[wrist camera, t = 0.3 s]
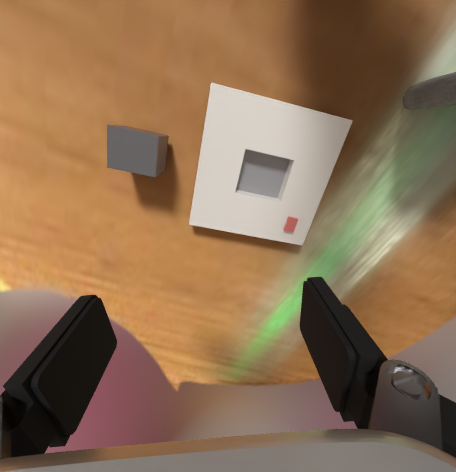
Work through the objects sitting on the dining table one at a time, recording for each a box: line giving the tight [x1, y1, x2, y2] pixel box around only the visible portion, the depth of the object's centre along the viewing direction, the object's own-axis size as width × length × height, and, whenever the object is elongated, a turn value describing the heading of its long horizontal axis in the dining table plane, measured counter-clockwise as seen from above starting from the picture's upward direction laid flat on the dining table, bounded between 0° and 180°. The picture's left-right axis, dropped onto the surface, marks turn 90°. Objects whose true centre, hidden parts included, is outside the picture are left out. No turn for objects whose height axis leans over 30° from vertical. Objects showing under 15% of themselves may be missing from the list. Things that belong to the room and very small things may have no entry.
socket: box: [189, 83, 353, 245], centre depth 35 cm, size 20×20×4 cm
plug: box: [107, 125, 169, 177], centre depth 31 cm, size 5×6×7 cm
